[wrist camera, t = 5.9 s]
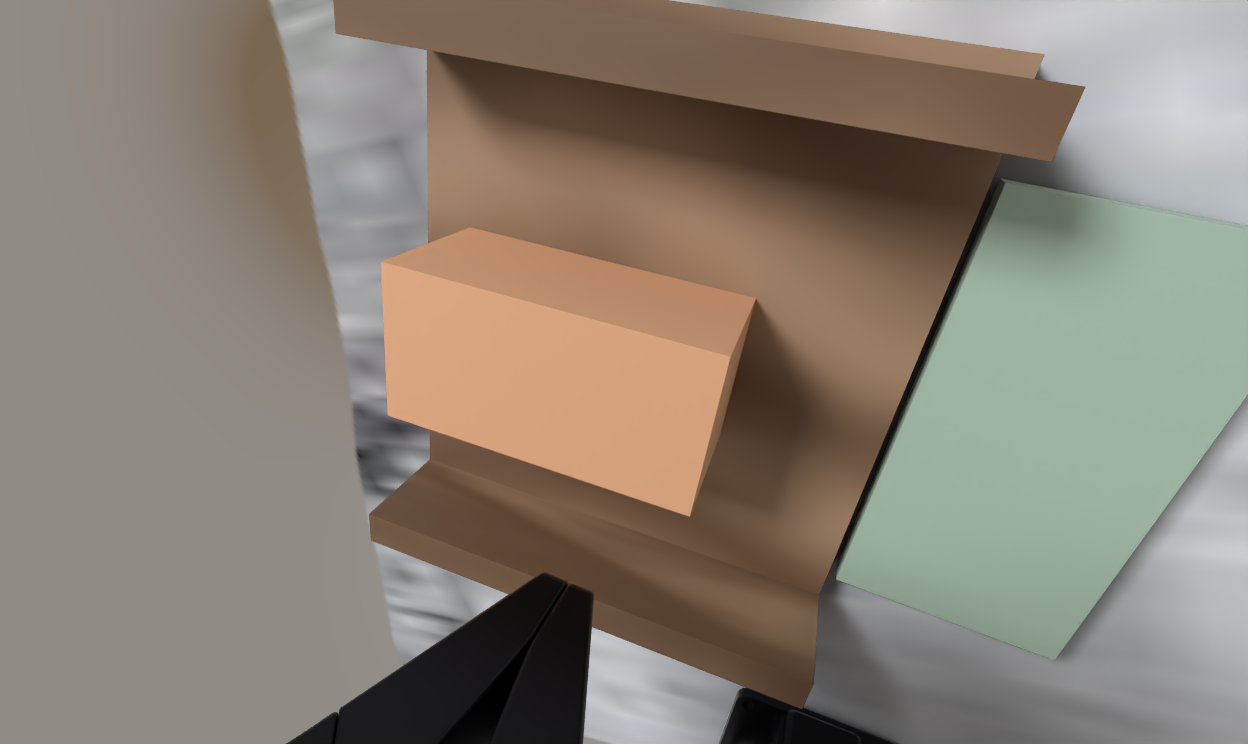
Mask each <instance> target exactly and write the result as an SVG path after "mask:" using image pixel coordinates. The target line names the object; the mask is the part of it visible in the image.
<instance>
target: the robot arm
mask: <svg viewBox="0 0 1248 744" xmlns="http://www.w3.org/2000/svg"><path fill="white" fill-rule="evenodd" d="M593 604H594V592H593V591H592V590H591V589H589V588H586V587H584V586H582V585H579V584H577V583H574V582H571V583H569V584H568V581H567V580H566V579H565V578H562V577H560V576H557V575H555V574H553V573H550V572H547V571H546V572H542V573H540V574H538V575H537V576H535V577H534V578H532V579H531V580H529V581H528V582H526V583H525V584H523V585H522V586H521V587H519V588H518V589H516V590H515V591H513V592H512V593H510V594H509V595H507V596H506V597H504V598H503V599H501V600H500V601H498V602H497V603H495V604H494V605H492V606H491V607H489V608H488V609H486V610H485V611H483V612H482V613H480V614H479V615H478V616H476V617H475V618H473V619H472V620H470V621H469V622H467V623H466V624H464V625H463V626H461V627H460V628H458V629H457V630H455V631H454V632H452V633H451V634H449V635H448V636H446V637H445V638H443V639H442V640H440V641H439V642H438V643H436V644H435V645H433V646H432V647H430V648H429V649H427V650H426V651H424V652H423V653H421V654H420V655H418V656H417V657H415V658H414V659H412V660H411V661H409V662H408V663H406V664H405V665H403V666H402V667H400V668H399V669H398V670H396V671H395V672H393V673H392V674H390V675H389V676H387V677H386V678H384V679H383V680H381V681H380V682H378V683H377V684H376V685H374V686H372V687H371V688H369V689H368V690H366V691H365V692H364V693H362V694H360V695H359V696H357V697H356V698H355V699H353V700H352V701H350V702H349V703H347V704H346V705H344V706H343V707H341V708H340V710H339V714H338V713H337V712H334V713H332V714H330V715H329V716H327V717H326V718H324V719H323V720H322V721H320V722H319V723H317V724H316V725H314V726H313V727H311V728H310V729H308V730H307V731H305V732H304V733H302V734H301V735H299V736H298V737H296V738H294V739H293V740H291V741H290V742H288V743H287V744H583V735H584V722H585V709H586V696H587V682H588V669H589V656H590V643H591V630H592V617H593ZM719 744H892V743H889V742H887V741H884V740H882V739H879V738H877V737H874V736H871V735H869V734H866V733H864V732H861V731H859V730H856V729H854V728H851V727H848V726H846V725H843V724H841V723H838V722H836V721H833V720H831V719H828V718H825V717H823V716H820V715H818V714H815V713H813V712H810V711H808V710H805V709H803V708H802V709H800V708H798V707H795V706H792V705H790V704H787V703H785V702H782V701H780V700H777V699H775V698H772V697H769V696H767V695H764V694H762V693H759V692H757V691H754V690H752V689H749V688H742V689H740V690H739V691H738V693H737V696H736V698H735V701H734V704H733V707H732V709H731V712H730V715H729V718H728V720H727V723H726V726H725V728H724V731H723V734H722V737H721V739H720V742H719Z"/></svg>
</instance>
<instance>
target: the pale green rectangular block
mask: <svg viewBox="0 0 1248 744" xmlns="http://www.w3.org/2000/svg"><path fill="white" fill-rule="evenodd" d="M1247 395H1248V226H1245V225H1240V224H1235V223H1230V222H1225V221H1219V220H1214V219H1209V218H1204V217H1198V216H1193V215H1188V214H1183V213H1178V212H1172V211H1167V210H1162V209H1157V208H1151V207H1146V206H1141V205H1136V204H1131V203H1125V202H1120V201H1115V200H1110V199H1105V198H1099V197H1094V196H1089V195H1084V194H1078V193H1073V192H1068V191H1063V190H1058V189H1052V188H1047V187H1042V186H1037V185H1031V184H1026V183H1021V182H1016V181H1011V180H1005V179H1000V180H999V182H998V185H997V187H996V190H995V192H994V194H993V197H992V199H991V201H990V204H989V206H988V208H987V211H986V213H985V216H984V218H983V220H982V223H981V225H980V227H979V230H978V232H977V235H976V237H975V239H974V242H973V244H972V246H971V249H970V251H969V253H968V256H967V258H966V261H965V263H964V265H963V268H962V270H961V272H960V275H959V277H958V279H957V282H956V284H955V287H954V289H953V291H952V294H951V296H950V298H949V301H948V303H947V305H946V308H945V310H944V313H943V315H942V317H941V320H940V322H939V324H938V327H937V329H936V331H935V334H934V336H933V339H932V341H931V343H930V346H929V348H928V350H927V353H926V355H925V357H924V360H923V362H922V365H921V367H920V369H919V372H918V374H917V376H916V379H915V381H914V384H913V386H912V388H911V391H910V393H909V395H908V398H907V400H906V402H905V405H904V407H903V410H902V412H901V414H900V417H899V419H898V421H897V424H896V426H895V428H894V431H893V433H892V436H891V438H890V440H889V443H888V445H887V447H886V450H885V452H884V454H883V457H882V459H881V462H880V464H879V466H878V469H877V471H876V473H875V476H874V478H873V480H872V483H871V485H870V488H869V490H868V492H867V495H866V497H865V499H864V502H863V504H862V507H861V509H860V511H859V514H858V516H857V518H856V521H855V523H854V525H853V528H852V530H851V533H850V535H849V537H848V540H847V542H846V544H845V547H844V549H843V551H842V554H841V556H840V559H839V561H838V563H837V574H836V580H839V581H842V582H844V583H847V584H850V585H852V586H855V587H858V588H860V589H863V590H866V591H869V592H871V593H874V594H877V595H879V596H882V597H885V598H887V599H890V600H893V601H895V602H898V603H901V604H904V605H906V606H909V607H912V608H914V609H917V610H920V611H922V612H925V613H928V614H930V615H933V616H936V617H939V618H941V619H944V620H947V621H949V622H952V623H955V624H957V625H960V626H963V627H965V628H968V629H971V630H974V631H976V632H979V633H982V634H984V635H987V636H990V637H992V638H995V639H998V640H1000V641H1003V642H1006V643H1009V644H1011V645H1014V646H1017V647H1019V648H1022V649H1025V650H1027V651H1030V652H1033V653H1035V654H1038V655H1041V656H1044V657H1046V658H1049V659H1052V660H1055V659H1056V658H1057V656H1058V655H1059V653H1060V652H1061V651H1062V649H1063V648H1064V647H1065V645H1066V644H1067V642H1068V641H1069V640H1070V638H1071V637H1072V636H1073V634H1074V633H1075V631H1076V630H1077V629H1078V627H1079V626H1080V625H1081V623H1082V622H1083V620H1084V619H1085V618H1086V616H1087V615H1088V614H1089V612H1090V611H1091V609H1092V608H1093V607H1094V605H1095V604H1096V603H1097V601H1098V600H1099V598H1100V597H1101V596H1102V594H1103V593H1104V592H1105V590H1106V589H1107V587H1108V586H1109V585H1110V583H1111V582H1112V581H1113V579H1114V578H1115V576H1116V575H1117V574H1118V572H1119V571H1120V570H1121V568H1122V567H1123V565H1124V564H1125V563H1126V561H1127V560H1128V559H1129V557H1130V556H1131V554H1132V553H1133V552H1134V550H1135V549H1136V548H1137V546H1138V545H1139V543H1140V542H1141V541H1142V539H1143V538H1144V537H1145V535H1146V534H1147V532H1148V531H1149V530H1150V528H1151V527H1152V526H1153V524H1154V523H1155V521H1156V520H1157V519H1158V517H1159V516H1160V515H1161V513H1162V512H1163V510H1164V509H1165V508H1166V506H1167V505H1168V504H1169V502H1170V501H1171V499H1172V498H1173V497H1174V495H1175V494H1176V493H1177V491H1178V490H1179V488H1180V487H1181V486H1182V484H1183V483H1184V482H1185V480H1186V479H1187V477H1188V476H1189V475H1190V473H1191V472H1192V471H1193V469H1194V468H1195V466H1196V465H1197V464H1198V462H1199V461H1200V460H1201V458H1202V457H1203V455H1204V454H1205V453H1206V451H1207V450H1208V449H1209V447H1210V446H1211V444H1212V443H1213V442H1214V440H1215V439H1216V438H1217V436H1218V435H1219V433H1220V432H1221V431H1222V429H1223V428H1224V427H1225V425H1226V424H1227V422H1228V421H1229V420H1230V418H1231V417H1232V416H1233V414H1234V413H1235V411H1236V410H1237V409H1238V407H1239V406H1240V405H1241V403H1242V402H1243V400H1244V399H1245V398H1246V396H1247Z"/></svg>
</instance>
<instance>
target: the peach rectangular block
mask: <svg viewBox="0 0 1248 744" xmlns="http://www.w3.org/2000/svg"><path fill="white" fill-rule="evenodd" d="M381 277H382V299H383V321H384V343H385V364H386V386H387V408H388V415H389V416H392V417H395V418H398V419H400V420H403V421H406V422H409V423H412V424H415V425H418V426H421V427H424V428H427V429H430V430H433V431H436V432H439V433H442V434H445V435H448V436H451V437H454V438H457V439H460V440H463V441H466V442H469V443H472V444H475V445H478V446H481V447H484V448H487V449H490V450H493V451H496V452H499V453H502V454H505V455H508V456H511V457H514V458H516V459H519V460H522V461H525V462H528V463H531V464H534V465H537V466H540V467H543V468H546V469H549V470H552V471H555V472H558V473H561V474H564V475H567V476H570V477H573V478H576V479H579V480H582V481H585V482H588V483H591V484H594V485H597V486H600V487H603V488H606V489H609V490H612V491H615V492H618V493H621V494H624V495H627V496H630V497H632V498H635V499H638V500H641V501H644V502H647V503H650V504H653V505H656V506H659V507H662V508H665V509H668V510H671V511H674V512H677V513H680V514H683V515H686V516H689V517H690V515H691V512H692V510H693V507H694V504H695V501H696V499H697V496H698V493H699V491H700V488H701V485H702V482H703V480H704V477H705V474H706V472H707V469H708V466H709V463H710V461H711V458H712V455H713V453H714V450H715V447H716V445H717V442H718V439H719V436H720V433H721V429H722V426H723V422H724V418H725V414H726V410H727V407H728V403H729V399H730V395H731V391H732V388H733V384H734V380H735V376H736V372H737V369H738V365H739V361H740V357H741V353H742V350H743V346H744V342H745V338H746V334H747V331H748V327H749V323H750V319H751V315H752V311H753V308H754V304H755V300H756V298H752V297H748V296H744V295H740V294H736V293H732V292H728V291H724V290H720V289H716V288H712V287H708V286H704V285H700V284H696V283H692V282H688V281H684V280H680V279H676V278H672V277H668V276H664V275H660V274H656V273H652V272H648V271H644V270H640V269H636V268H632V267H628V266H624V265H620V264H616V263H612V262H607V261H603V260H599V259H595V258H591V257H587V256H583V255H579V254H575V253H571V252H567V251H563V250H559V249H555V248H551V247H547V246H543V245H539V244H535V243H531V242H527V241H523V240H519V239H515V238H511V237H507V236H503V235H499V234H495V233H491V232H487V231H483V230H479V229H475V228H471V227H470V228H467V229H465V230H462V231H459V232H457V233H454V234H452V235H449V236H446V237H444V238H441V239H438V240H436V241H433V242H431V243H428V244H425V245H423V246H420V247H418V248H415V249H412V250H410V251H407V252H404V253H402V254H399V255H397V256H394V257H391V258H389V259H386V260H384V261H381Z"/></svg>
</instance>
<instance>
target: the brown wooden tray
mask: <svg viewBox="0 0 1248 744" xmlns="http://www.w3.org/2000/svg"><path fill="white" fill-rule="evenodd" d="M333 1H334V15H335V30H336V34H341V35H346V36H352V37H357V38H363V39H369V40H374V41H380V42H385V43H391V44H397V45H402V46H408V47H413V48H419V49H424V50H427V128H428V243H431V242H433V241H436V240H438V239H441V238H444V237H446V236H449V235H452V234H454V233H457V232H459V231H462V230H465V229H467V228H470V227H471V228H475V229H479V230H483V231H487V232H491V233H495V234H499V235H503V236H507V237H511V238H515V239H519V240H523V241H527V242H531V243H535V244H539V245H543V246H547V247H551V248H555V249H559V250H563V251H567V252H571V253H575V254H579V255H583V256H587V257H591V258H595V259H599V260H603V261H607V262H612V263H616V264H620V265H624V266H628V267H632V268H636V269H640V270H644V271H648V272H652V273H656V274H660V275H664V276H668V277H672V278H676V279H680V280H684V281H688V282H692V283H696V284H700V285H704V286H708V287H712V288H716V289H720V290H724V291H728V292H732V293H736V294H740V295H744V296H748V297H752V298H756V300H755V304H754V308H753V311H752V315H751V319H750V323H749V327H748V331H747V334H746V338H745V342H744V346H743V350H742V353H741V357H740V361H739V365H738V369H737V372H736V376H735V380H734V384H733V388H732V391H731V395H730V399H729V403H728V407H727V410H726V414H725V418H724V422H723V426H722V429H721V433H720V436H719V439H718V442H717V445H716V447H715V450H714V453H713V455H712V458H711V461H710V463H709V466H708V469H707V472H706V474H705V477H704V480H703V482H702V485H701V488H700V491H699V493H698V496H697V499H696V501H695V504H694V507H693V510H692V512H691V515H690V517H689V516H686V515H683V514H680V513H677V512H674V511H671V510H668V509H665V508H662V507H659V506H656V505H653V504H650V503H647V502H644V501H641V500H638V499H635V498H632V497H630V496H627V495H624V494H621V493H618V492H615V491H612V490H609V489H606V488H603V487H600V486H597V485H594V484H591V483H588V482H585V481H582V480H579V479H576V478H573V477H570V476H567V475H564V474H561V473H558V472H555V471H552V470H549V469H546V468H543V467H540V466H537V465H534V464H531V463H528V462H525V461H522V460H519V459H516V458H514V457H511V456H508V455H505V454H502V453H499V452H496V451H493V450H490V449H487V448H484V447H481V446H478V445H475V444H472V443H469V442H466V441H463V440H460V439H457V438H454V437H451V436H448V435H445V434H442V433H439V432H436V431H433V430H430V460H429V461H428V462H427V463H425V464H424V465H423V466H422V467H421V468H420V469H419V470H418V471H417V472H415V473H414V474H413V475H412V476H411V477H410V478H409V479H408V480H407V481H405V482H404V483H403V484H402V485H401V486H400V487H399V488H398V489H397V490H395V491H394V492H393V493H392V494H391V495H390V496H389V497H388V498H387V499H385V500H384V501H383V502H382V503H381V504H380V505H379V506H378V507H376V508H375V509H374V510H373V511H372V512H371V513H370V514H369V519H370V534H371V541H374V542H376V543H379V544H382V545H384V546H387V547H389V548H392V549H394V550H397V551H399V552H402V553H404V554H407V555H410V556H412V557H415V558H417V559H420V560H422V561H425V562H427V563H430V564H433V565H435V566H438V567H440V568H443V569H445V570H448V571H450V572H453V573H456V574H458V575H461V576H463V577H466V578H468V579H471V580H473V581H476V582H478V583H481V584H484V585H486V586H489V587H491V588H494V589H496V590H499V591H501V592H504V593H507V594H510V593H512V592H513V591H515V590H516V589H518V588H519V587H521V586H522V585H523V584H525V583H526V582H528V581H529V580H531V579H532V578H534V577H535V576H537V575H538V574H540V573H542V572H546V571H547V572H550V573H553V574H555V575H557V576H560V577H562V578H565V579H566V580H567V581H568V584H569V583H571V582H574V583H577V584H579V585H582V586H584V587H586V588H589V589H591V590H592V591H593V592H594V604H593V617H592V627H593V628H596V629H598V630H601V631H604V632H606V633H609V634H611V635H614V636H616V637H619V638H621V639H624V640H627V641H629V642H632V643H634V644H637V645H639V646H642V647H644V648H647V649H650V650H652V651H655V652H657V653H660V654H662V655H665V656H667V657H670V658H672V659H675V660H678V661H680V662H683V663H685V664H688V665H690V666H693V667H695V668H698V669H701V670H703V671H706V672H708V673H711V674H713V675H716V676H718V677H721V678H724V679H726V680H729V681H731V682H734V683H736V684H739V685H741V686H744V687H746V688H749V689H752V690H754V691H757V692H759V693H762V694H764V695H767V696H769V697H772V698H775V699H777V700H780V701H782V702H785V703H787V704H790V705H792V706H795V707H798V708H800V709H802V708H803V706H804V704H805V702H806V699H807V697H808V695H809V693H810V691H811V688H812V686H813V684H814V671H815V654H816V638H817V622H818V605H819V594H820V592H821V589H822V587H823V585H824V582H825V580H826V577H827V575H828V573H829V570H830V568H831V565H832V563H833V561H834V558H835V556H836V553H837V551H838V549H839V546H840V544H841V541H842V539H843V537H844V534H845V532H846V529H847V527H848V525H849V522H850V520H851V517H852V515H853V513H854V510H855V508H856V505H857V503H858V501H859V498H860V496H861V494H862V491H863V489H864V486H865V484H866V482H867V479H868V477H869V474H870V472H871V470H872V467H873V465H874V462H875V460H876V458H877V455H878V453H879V450H880V448H881V446H882V443H883V441H884V438H885V436H886V434H887V431H888V429H889V426H890V424H891V422H892V419H893V417H894V414H895V412H896V410H897V407H898V405H899V402H900V400H901V398H902V395H903V393H904V390H905V388H906V386H907V383H908V381H909V379H910V376H911V374H912V371H913V369H914V367H915V364H916V362H917V359H918V357H919V355H920V352H921V350H922V347H923V345H924V343H925V340H926V338H927V335H928V333H929V331H930V328H931V326H932V323H933V321H934V319H935V316H936V314H937V311H938V309H939V307H940V304H941V302H942V299H943V297H944V295H945V292H946V290H947V287H948V285H949V283H950V280H951V278H952V275H953V273H954V271H955V268H956V266H957V264H958V261H959V259H960V256H961V254H962V252H963V249H964V247H965V244H966V242H967V240H968V237H969V235H970V232H971V230H972V228H973V225H974V223H975V220H976V218H977V216H978V213H979V211H980V208H981V206H982V204H983V201H984V199H985V196H986V194H987V192H988V189H989V187H990V184H991V182H992V180H993V177H994V175H995V172H996V170H997V168H998V165H999V163H1000V160H1001V158H1002V156H1003V153H1005V154H1011V155H1016V156H1022V157H1028V158H1033V159H1039V160H1044V161H1050V162H1052V159H1053V157H1054V155H1055V153H1056V151H1057V148H1058V146H1059V144H1060V142H1061V140H1062V137H1063V135H1064V133H1065V131H1066V129H1067V126H1068V124H1069V122H1070V120H1071V118H1072V116H1073V113H1074V111H1075V109H1076V107H1077V105H1078V102H1079V100H1080V98H1081V96H1082V94H1083V91H1084V89H1085V87H1083V86H1077V85H1070V84H1064V83H1057V82H1051V81H1044V80H1037V79H1035V77H1036V74H1037V72H1038V69H1039V67H1040V65H1041V62H1042V60H1043V57H1044V54H1037V53H1030V52H1024V51H1017V50H1010V49H1003V48H996V47H989V46H982V45H975V44H968V43H961V42H954V41H947V40H940V39H933V38H926V37H919V36H912V35H906V34H899V33H892V32H885V31H878V30H871V29H864V28H857V27H850V26H843V25H836V24H829V23H822V22H815V21H808V20H801V19H794V18H788V17H781V16H774V15H767V14H760V13H753V12H746V11H739V10H732V9H725V8H718V7H711V6H704V5H697V4H690V3H683V2H676V1H670V0H333Z"/></svg>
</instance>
